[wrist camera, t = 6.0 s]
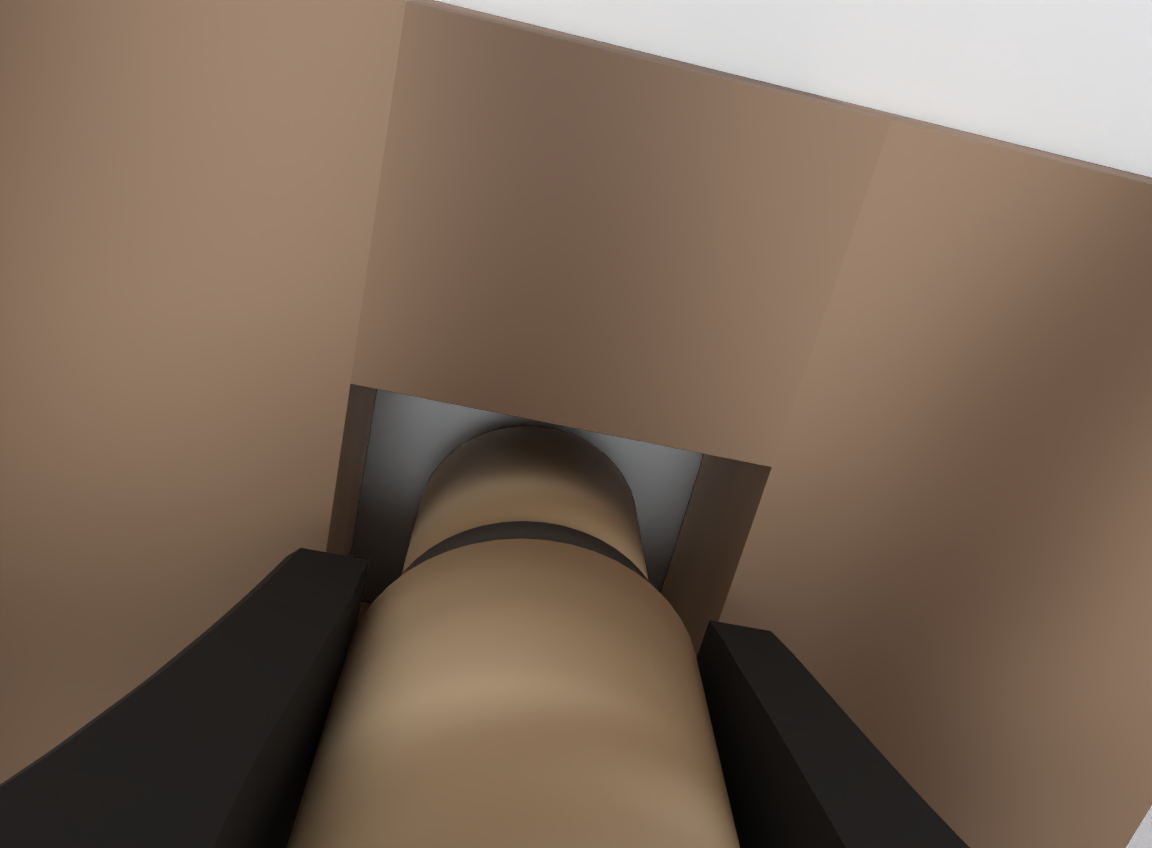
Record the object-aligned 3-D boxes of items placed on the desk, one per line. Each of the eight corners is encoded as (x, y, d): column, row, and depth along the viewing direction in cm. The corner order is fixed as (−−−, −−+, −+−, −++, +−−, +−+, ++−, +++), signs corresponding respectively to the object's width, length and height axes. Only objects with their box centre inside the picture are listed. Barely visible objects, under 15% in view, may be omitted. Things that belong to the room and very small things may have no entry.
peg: (698, 440, 11) (912, 1051, 5) (616, 660, 12) (694, 1386, 6) (425, 370, 11) (236, 939, 4) (367, 606, 12) (155, 1326, 5)
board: (1292, 212, 11) (1485, 266, 9) (858, 1039, 17) (907, 1200, 15) (-385, -202, 9) (-696, -272, 7) (-226, 902, 15) (-366, 1065, 13)
